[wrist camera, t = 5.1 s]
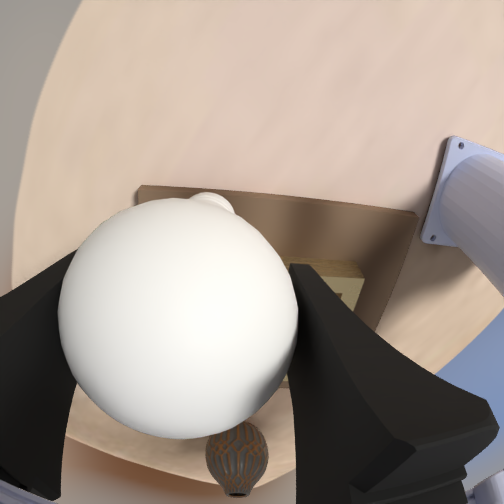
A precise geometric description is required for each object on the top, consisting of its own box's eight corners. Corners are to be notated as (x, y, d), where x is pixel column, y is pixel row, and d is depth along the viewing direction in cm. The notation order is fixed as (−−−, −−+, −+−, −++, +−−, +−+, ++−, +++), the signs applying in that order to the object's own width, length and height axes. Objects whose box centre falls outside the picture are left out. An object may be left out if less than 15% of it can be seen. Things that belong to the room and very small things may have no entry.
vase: (223, 408, 31) (222, 482, 24) (278, 422, 33) (284, 490, 26) (197, 432, 34) (193, 496, 27) (247, 444, 36) (249, 504, 29)
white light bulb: (181, 284, 17) (127, 481, 7) (126, 181, 14) (-33, 328, 5) (292, 245, 16) (342, 454, 6) (245, 127, 13) (235, 210, 4)
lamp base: (414, 212, 20) (419, 217, 20) (345, 380, 30) (347, 386, 29) (141, 185, 19) (137, 189, 18) (158, 373, 28) (157, 380, 27)
